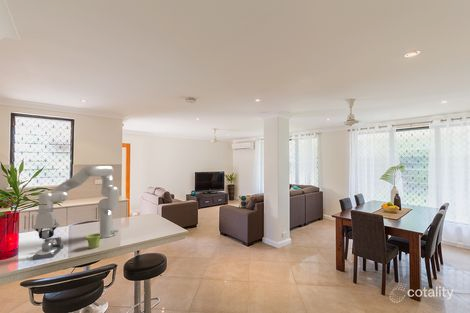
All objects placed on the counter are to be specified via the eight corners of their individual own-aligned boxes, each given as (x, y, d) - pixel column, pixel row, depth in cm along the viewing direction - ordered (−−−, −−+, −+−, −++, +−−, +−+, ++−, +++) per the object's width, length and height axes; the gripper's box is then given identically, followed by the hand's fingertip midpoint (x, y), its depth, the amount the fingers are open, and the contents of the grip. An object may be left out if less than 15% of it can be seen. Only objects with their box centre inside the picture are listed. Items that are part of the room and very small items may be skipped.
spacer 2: (49, 251, 145) (49, 243, 145) (40, 252, 144) (40, 245, 144) (53, 248, 150) (53, 241, 150) (44, 249, 148) (44, 242, 148)
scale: (44, 250, 154) (44, 238, 154) (63, 248, 158) (62, 236, 158) (32, 260, 140) (32, 247, 140) (52, 257, 143) (52, 244, 143)
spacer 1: (49, 238, 145) (48, 231, 145) (39, 239, 143) (39, 232, 144) (52, 236, 150) (52, 228, 150) (43, 236, 148) (43, 229, 148)
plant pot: (86, 246, 160) (86, 235, 160) (101, 243, 165) (100, 232, 165) (86, 251, 152) (86, 238, 152) (101, 247, 158) (101, 235, 158)
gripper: (27, 213, 141) (27, 241, 140) (58, 210, 146) (58, 237, 146) (33, 210, 148) (34, 237, 147) (63, 208, 153) (63, 233, 153)
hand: (46, 237), depth 147 cm, fingers closed on spacer 1, 5 cm apart
